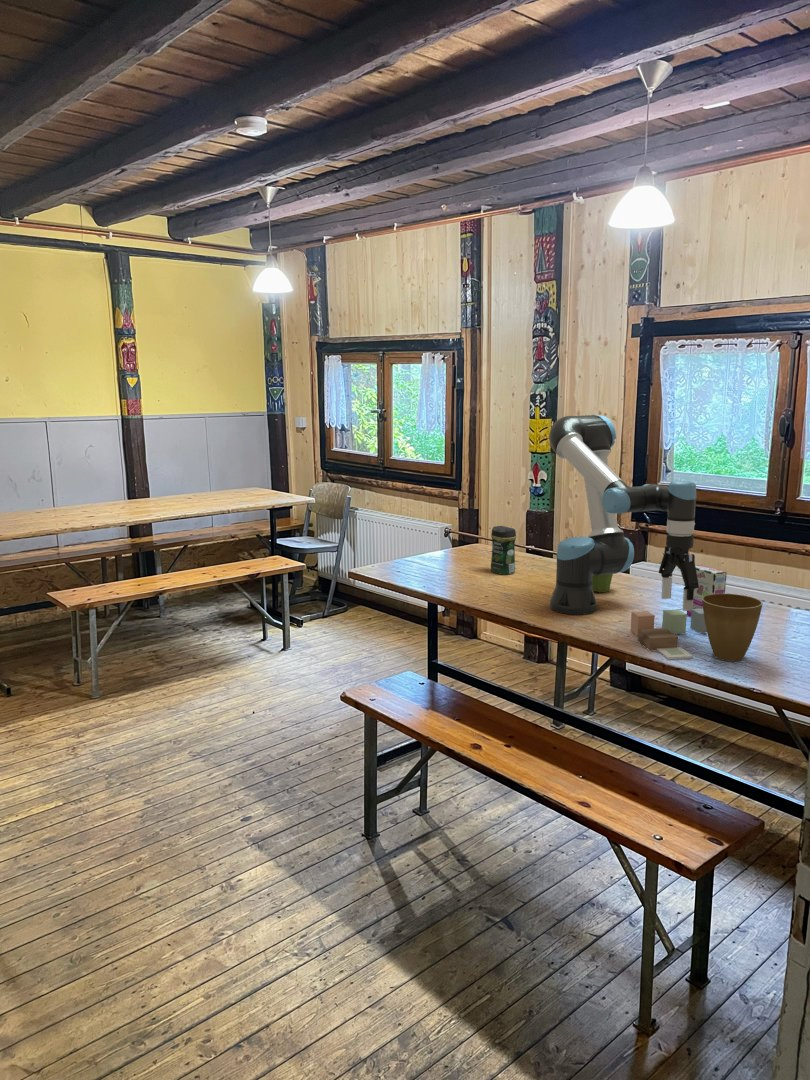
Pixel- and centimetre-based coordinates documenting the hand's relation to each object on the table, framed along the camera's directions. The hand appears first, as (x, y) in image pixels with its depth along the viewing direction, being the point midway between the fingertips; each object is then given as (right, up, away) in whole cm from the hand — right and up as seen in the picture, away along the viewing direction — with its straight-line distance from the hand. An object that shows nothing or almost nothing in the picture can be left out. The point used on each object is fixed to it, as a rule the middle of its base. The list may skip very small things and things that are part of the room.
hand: (676, 604), depth 224 cm
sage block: (0, -8, +2) cm, 9 cm away
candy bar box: (+14, -6, +14) cm, 20 cm away
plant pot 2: (+7, -13, -19) cm, 24 cm away
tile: (-7, -12, -17) cm, 22 cm away
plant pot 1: (-11, +1, +48) cm, 49 cm away
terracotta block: (-10, -9, +1) cm, 13 cm away
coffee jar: (-42, +6, +75) cm, 87 cm away
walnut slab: (-9, -11, -10) cm, 18 cm away
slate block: (+9, -8, +3) cm, 12 cm away
